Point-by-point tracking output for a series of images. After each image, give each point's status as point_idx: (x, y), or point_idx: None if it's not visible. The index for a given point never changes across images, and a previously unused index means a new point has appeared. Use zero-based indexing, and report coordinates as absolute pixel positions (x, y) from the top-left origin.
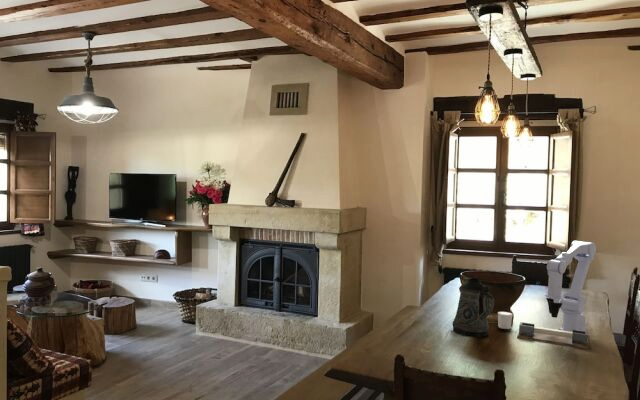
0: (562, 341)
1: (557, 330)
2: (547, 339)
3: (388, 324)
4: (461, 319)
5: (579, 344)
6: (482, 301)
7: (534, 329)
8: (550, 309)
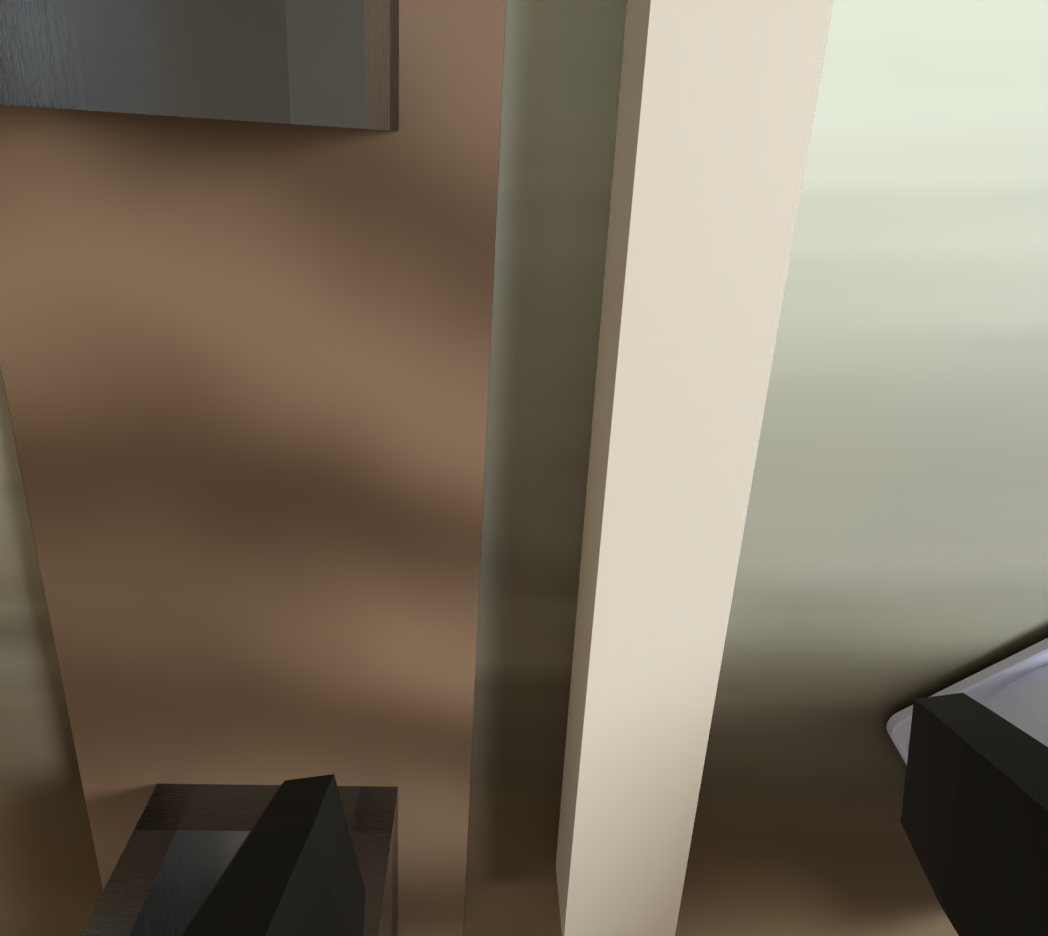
0: (138, 663)
1: (658, 623)
2: (83, 423)
3: None
4: None
5: None
6: None
7: (633, 138)
8: (1013, 842)
